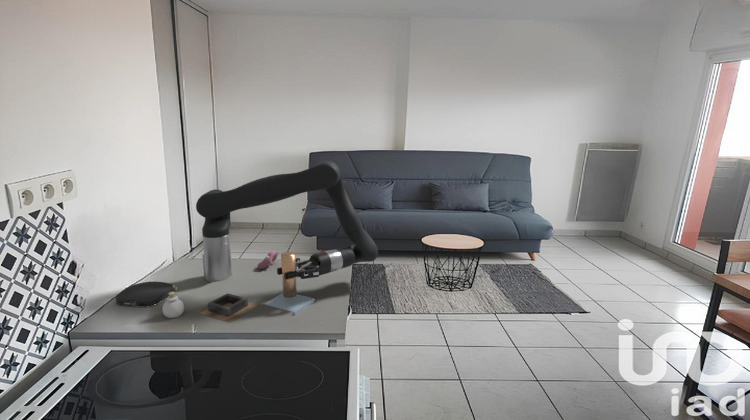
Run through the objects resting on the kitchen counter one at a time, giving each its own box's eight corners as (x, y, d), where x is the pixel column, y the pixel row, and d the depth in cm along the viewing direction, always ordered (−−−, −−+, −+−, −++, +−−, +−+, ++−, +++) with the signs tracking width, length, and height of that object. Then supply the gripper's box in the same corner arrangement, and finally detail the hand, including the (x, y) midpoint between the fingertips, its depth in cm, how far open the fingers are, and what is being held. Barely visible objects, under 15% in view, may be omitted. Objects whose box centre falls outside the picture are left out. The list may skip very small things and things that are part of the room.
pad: (264, 307, 140) (264, 304, 140) (285, 294, 150) (285, 291, 149) (294, 315, 135) (294, 312, 135) (314, 301, 145) (314, 298, 144)
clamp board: (196, 314, 134) (195, 304, 133) (227, 298, 146) (226, 289, 145) (230, 325, 128) (229, 314, 127) (259, 307, 140) (259, 297, 139)
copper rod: (280, 296, 141) (278, 255, 137) (288, 291, 144) (286, 251, 141) (291, 298, 139) (289, 257, 135) (299, 293, 143) (297, 253, 139)
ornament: (160, 322, 130) (156, 291, 127) (170, 310, 137) (166, 281, 134) (180, 322, 130) (177, 291, 127) (189, 310, 137) (186, 281, 135)
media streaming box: (178, 290, 152) (177, 282, 152) (152, 309, 138) (151, 300, 138) (140, 287, 154) (139, 279, 153) (110, 305, 140) (109, 297, 139)
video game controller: (265, 274, 171) (272, 259, 169) (255, 268, 171) (262, 253, 169) (275, 265, 180) (282, 251, 178) (266, 259, 180) (272, 246, 178)
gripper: (315, 246, 153) (270, 256, 142) (338, 257, 142) (291, 269, 132) (315, 266, 155) (271, 278, 144) (338, 278, 144) (292, 292, 133)
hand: (281, 274), depth 138 cm, fingers closed on copper rod, 4 cm apart
